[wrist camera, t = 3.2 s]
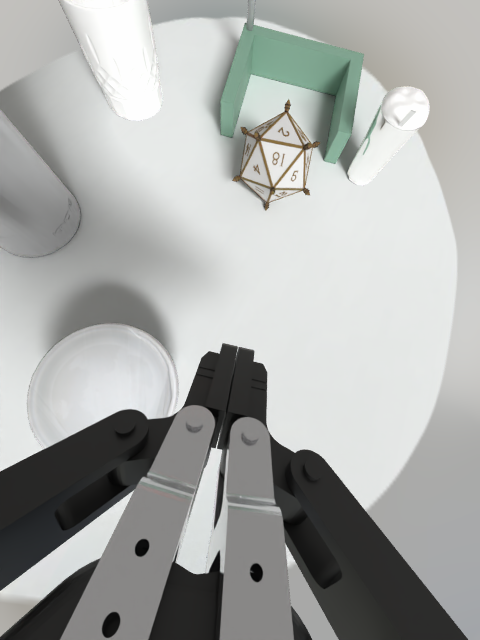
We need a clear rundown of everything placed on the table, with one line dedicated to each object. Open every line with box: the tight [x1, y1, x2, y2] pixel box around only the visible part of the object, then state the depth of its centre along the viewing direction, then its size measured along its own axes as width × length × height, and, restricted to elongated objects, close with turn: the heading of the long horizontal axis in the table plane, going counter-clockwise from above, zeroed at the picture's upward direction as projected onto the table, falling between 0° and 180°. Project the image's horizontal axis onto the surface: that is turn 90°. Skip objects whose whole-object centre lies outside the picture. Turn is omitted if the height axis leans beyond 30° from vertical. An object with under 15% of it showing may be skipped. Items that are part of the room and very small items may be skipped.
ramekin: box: [27, 323, 179, 449], centre depth 22 cm, size 11×11×5 cm
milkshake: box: [347, 86, 429, 186], centre depth 26 cm, size 4×5×10 cm
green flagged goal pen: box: [221, 0, 364, 164], centre depth 23 cm, size 15×12×20 cm
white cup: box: [59, 0, 163, 120], centre depth 26 cm, size 8×8×10 cm
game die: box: [232, 100, 320, 210], centre depth 26 cm, size 9×8×10 cm
